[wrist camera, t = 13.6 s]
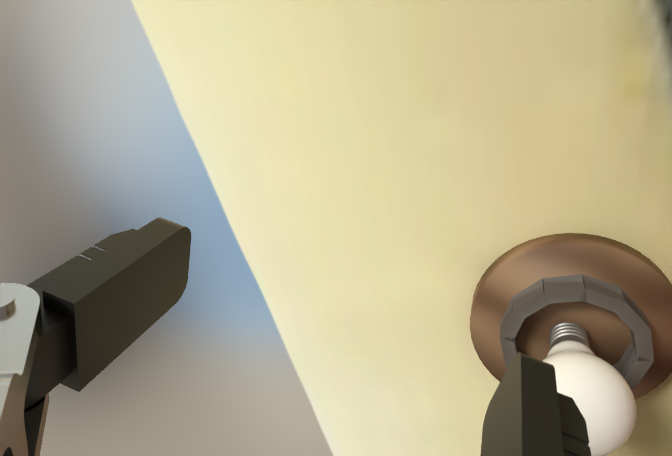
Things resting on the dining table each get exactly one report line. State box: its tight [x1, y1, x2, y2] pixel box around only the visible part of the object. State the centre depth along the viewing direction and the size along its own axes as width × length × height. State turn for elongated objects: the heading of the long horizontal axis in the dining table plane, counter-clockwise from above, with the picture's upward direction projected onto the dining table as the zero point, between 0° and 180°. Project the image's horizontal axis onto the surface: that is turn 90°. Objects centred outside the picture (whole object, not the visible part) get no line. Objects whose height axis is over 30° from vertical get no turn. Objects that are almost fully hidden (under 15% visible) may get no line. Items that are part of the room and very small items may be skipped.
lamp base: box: [470, 233, 672, 399], centre depth 38 cm, size 15×15×4 cm
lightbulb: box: [542, 322, 636, 456], centre depth 34 cm, size 6×6×11 cm
